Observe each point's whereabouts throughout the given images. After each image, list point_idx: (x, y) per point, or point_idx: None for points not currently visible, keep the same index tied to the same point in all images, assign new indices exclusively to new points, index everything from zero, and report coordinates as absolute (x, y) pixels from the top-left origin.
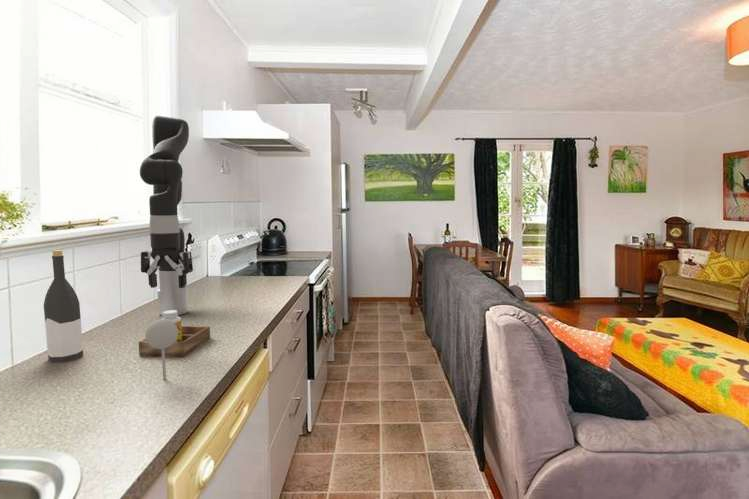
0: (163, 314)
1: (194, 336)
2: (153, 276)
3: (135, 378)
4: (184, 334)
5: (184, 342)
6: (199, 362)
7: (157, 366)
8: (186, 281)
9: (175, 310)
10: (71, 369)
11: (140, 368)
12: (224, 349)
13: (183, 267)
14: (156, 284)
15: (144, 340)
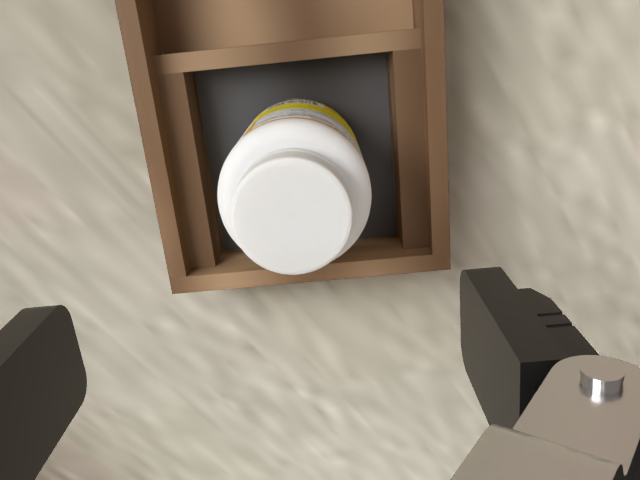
0: (267, 266)
1: (446, 128)
2: (6, 473)
3: (376, 476)
4: (312, 40)
5: (449, 250)
6: (555, 289)
7: (381, 363)
8: (563, 319)
9: (310, 169)
10: None
11: (321, 393)
12: (610, 87)
13: (631, 478)
14: (55, 327)
15: (184, 263)
